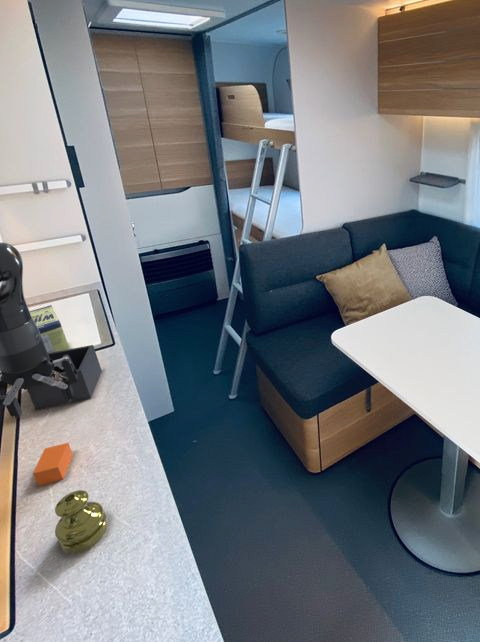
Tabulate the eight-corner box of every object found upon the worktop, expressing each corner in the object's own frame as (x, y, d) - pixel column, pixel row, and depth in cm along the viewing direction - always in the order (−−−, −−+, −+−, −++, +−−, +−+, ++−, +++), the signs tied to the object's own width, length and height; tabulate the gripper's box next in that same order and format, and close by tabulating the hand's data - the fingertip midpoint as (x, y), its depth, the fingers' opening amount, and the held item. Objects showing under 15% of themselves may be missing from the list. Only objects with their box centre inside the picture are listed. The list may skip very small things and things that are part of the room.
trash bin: (36, 411, 108) (23, 381, 104) (52, 382, 119) (41, 354, 115) (91, 399, 112) (80, 370, 108) (102, 372, 123) (93, 344, 119)
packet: (63, 480, 88) (58, 467, 87) (39, 487, 87) (32, 473, 85) (73, 455, 94) (68, 442, 93) (50, 461, 93) (44, 448, 92)
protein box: (66, 345, 136) (51, 304, 130) (76, 365, 126) (60, 321, 120) (27, 358, 130) (9, 316, 124) (34, 381, 119) (15, 336, 113)
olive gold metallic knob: (66, 525, 79) (50, 489, 75) (111, 510, 82) (97, 474, 78) (57, 562, 73) (38, 525, 69) (105, 544, 76) (90, 507, 72)
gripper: (63, 324, 86) (85, 386, 92) (-25, 344, 80) (5, 409, 86) (58, 341, 80) (83, 406, 86) (-38, 365, 74) (-4, 433, 80)
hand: (44, 407), depth 86 cm, fingers open, 8 cm apart
